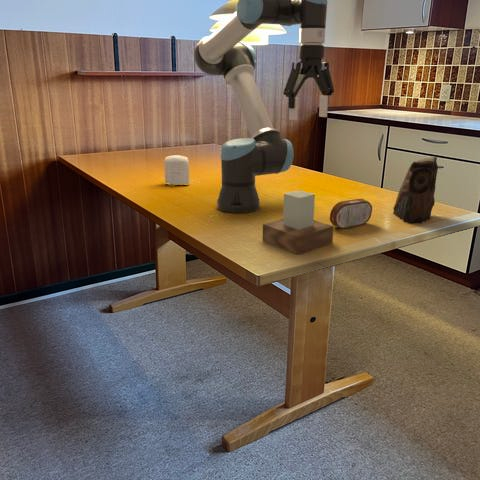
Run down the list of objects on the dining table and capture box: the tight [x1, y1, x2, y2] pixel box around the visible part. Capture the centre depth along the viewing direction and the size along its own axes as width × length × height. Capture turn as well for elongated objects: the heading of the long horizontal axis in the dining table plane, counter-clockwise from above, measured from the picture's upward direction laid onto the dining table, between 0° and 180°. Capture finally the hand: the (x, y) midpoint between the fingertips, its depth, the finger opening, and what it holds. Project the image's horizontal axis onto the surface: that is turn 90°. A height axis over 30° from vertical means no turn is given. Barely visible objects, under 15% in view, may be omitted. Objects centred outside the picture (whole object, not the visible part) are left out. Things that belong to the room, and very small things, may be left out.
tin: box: [329, 198, 373, 230], centre depth 151 cm, size 15×3×8 cm, turn 118°
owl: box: [392, 156, 439, 225], centre depth 156 cm, size 13×13×20 cm
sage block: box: [282, 189, 316, 230], centre depth 135 cm, size 6×6×9 cm
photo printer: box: [163, 154, 190, 185], centre depth 201 cm, size 10×4×12 cm, turn 84°
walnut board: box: [262, 218, 335, 255], centre depth 138 cm, size 14×14×5 cm
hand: (308, 118), depth 152 cm, fingers open, 13 cm apart
